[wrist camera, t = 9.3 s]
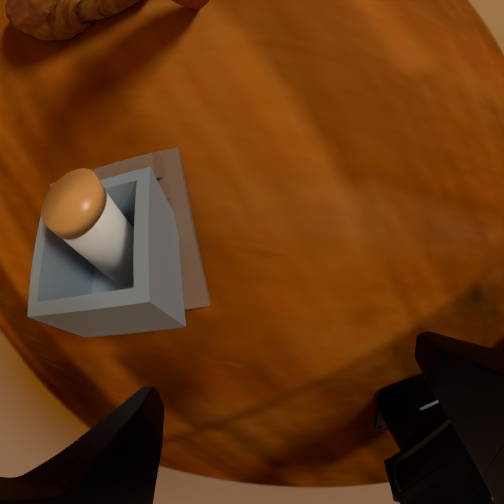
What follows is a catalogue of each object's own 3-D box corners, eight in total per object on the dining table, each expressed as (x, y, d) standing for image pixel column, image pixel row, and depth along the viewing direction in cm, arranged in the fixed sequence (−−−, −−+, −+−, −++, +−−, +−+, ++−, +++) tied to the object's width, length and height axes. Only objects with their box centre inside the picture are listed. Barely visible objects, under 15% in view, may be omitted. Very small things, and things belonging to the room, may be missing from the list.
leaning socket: (210, 300, 21) (199, 380, 12) (100, 315, 21) (48, 384, 12) (180, 148, 18) (138, 130, 9) (64, 180, 18) (-19, 193, 9)
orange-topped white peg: (150, 280, 17) (92, 219, 11) (104, 287, 17) (35, 235, 10) (150, 232, 18) (102, 160, 12) (106, 241, 18) (49, 179, 12)
